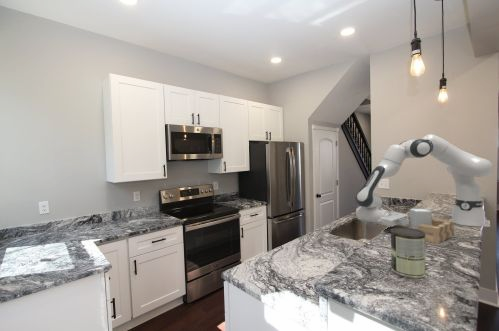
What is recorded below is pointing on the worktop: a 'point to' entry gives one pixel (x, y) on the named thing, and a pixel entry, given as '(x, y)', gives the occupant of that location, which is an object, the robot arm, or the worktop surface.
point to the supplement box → (420, 217)
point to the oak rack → (437, 230)
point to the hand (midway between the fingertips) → (410, 222)
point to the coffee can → (408, 252)
